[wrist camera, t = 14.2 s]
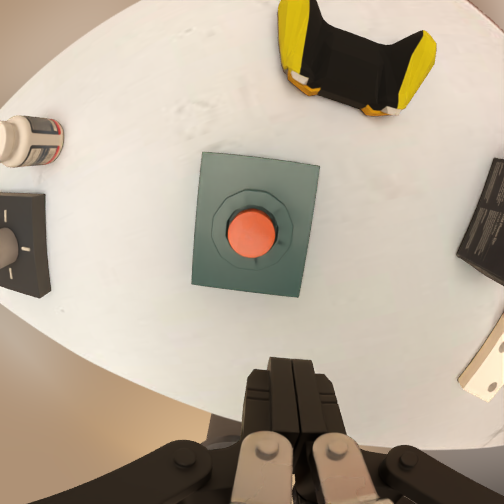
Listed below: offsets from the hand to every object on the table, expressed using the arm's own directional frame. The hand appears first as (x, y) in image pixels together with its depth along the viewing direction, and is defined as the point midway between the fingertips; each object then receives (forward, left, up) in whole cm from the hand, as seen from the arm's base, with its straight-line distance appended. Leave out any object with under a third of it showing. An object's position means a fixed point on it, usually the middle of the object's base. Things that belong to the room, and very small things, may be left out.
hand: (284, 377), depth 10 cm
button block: (+2, +2, -19) cm, 19 cm away
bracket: (-11, -35, -19) cm, 41 cm away
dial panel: (-3, +31, -19) cm, 36 cm away
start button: (+2, +2, -15) cm, 16 cm away
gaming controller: (+19, -5, -19) cm, 27 cm away
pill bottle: (+9, +26, -19) cm, 34 cm away
